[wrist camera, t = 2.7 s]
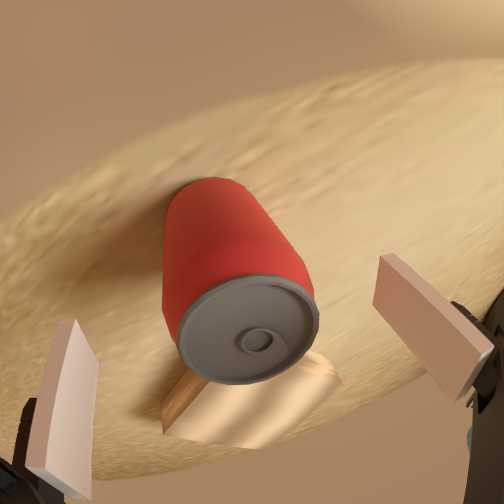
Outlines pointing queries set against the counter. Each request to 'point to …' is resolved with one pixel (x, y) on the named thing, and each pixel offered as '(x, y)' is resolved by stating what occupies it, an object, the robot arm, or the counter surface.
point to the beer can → (233, 286)
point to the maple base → (248, 405)
